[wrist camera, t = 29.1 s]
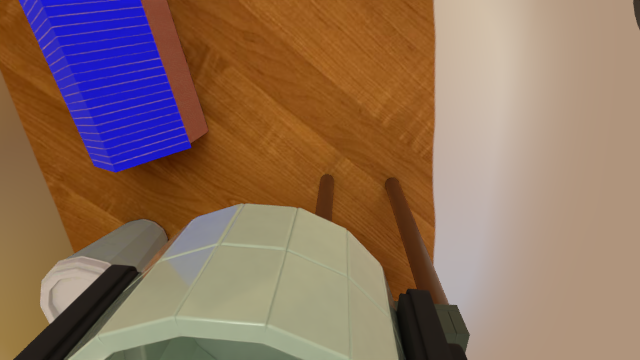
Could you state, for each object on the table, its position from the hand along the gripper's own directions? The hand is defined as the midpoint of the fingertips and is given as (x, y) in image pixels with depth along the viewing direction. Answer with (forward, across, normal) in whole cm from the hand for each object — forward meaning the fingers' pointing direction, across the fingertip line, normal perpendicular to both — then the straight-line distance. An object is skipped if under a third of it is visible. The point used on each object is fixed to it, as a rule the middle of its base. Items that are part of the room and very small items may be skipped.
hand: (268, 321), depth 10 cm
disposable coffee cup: (+36, +25, +21) cm, 48 cm away
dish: (+1, 0, 0) cm, 1 cm away
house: (+36, +23, -4) cm, 43 cm away
